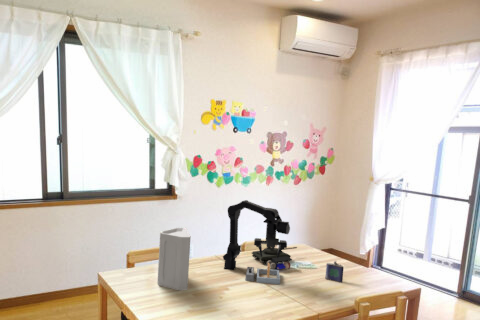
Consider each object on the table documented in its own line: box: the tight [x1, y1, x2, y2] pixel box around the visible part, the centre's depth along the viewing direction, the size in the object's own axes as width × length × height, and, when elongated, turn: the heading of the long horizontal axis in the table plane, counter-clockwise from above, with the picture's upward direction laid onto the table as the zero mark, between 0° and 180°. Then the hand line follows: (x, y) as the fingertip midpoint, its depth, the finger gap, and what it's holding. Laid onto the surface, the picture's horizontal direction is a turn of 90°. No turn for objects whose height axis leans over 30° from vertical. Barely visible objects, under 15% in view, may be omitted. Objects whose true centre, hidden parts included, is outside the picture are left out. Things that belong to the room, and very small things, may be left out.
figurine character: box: [267, 256, 293, 270], centre depth 216 cm, size 7×8×15 cm
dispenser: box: [244, 266, 255, 282], centre depth 200 cm, size 5×12×5 cm, turn 176°
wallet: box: [324, 260, 344, 283], centre depth 204 cm, size 10×3×12 cm, turn 65°
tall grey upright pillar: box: [156, 226, 191, 291], centre depth 185 cm, size 19×15×28 cm
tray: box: [256, 268, 281, 285], centre depth 199 cm, size 13×14×3 cm
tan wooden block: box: [266, 263, 271, 278], centre depth 199 cm, size 1×6×8 cm, turn 177°
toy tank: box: [251, 246, 298, 265], centre depth 234 cm, size 12×34×10 cm, turn 119°
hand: (269, 257), depth 199 cm, fingers open, 9 cm apart
